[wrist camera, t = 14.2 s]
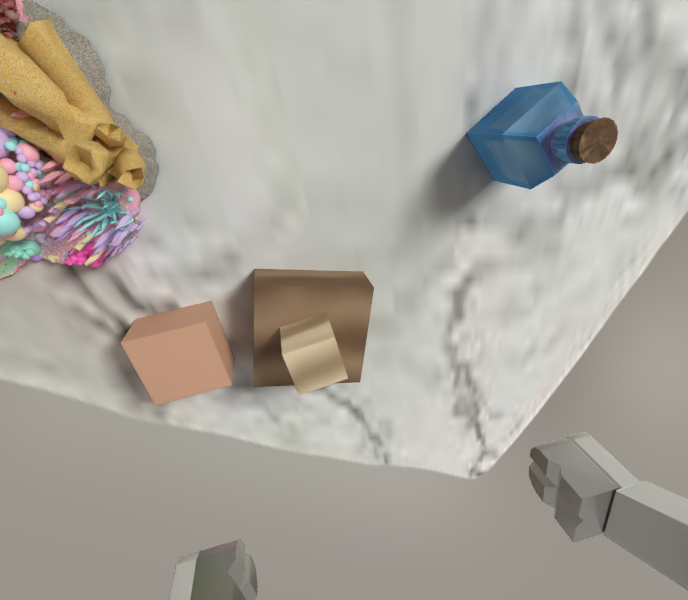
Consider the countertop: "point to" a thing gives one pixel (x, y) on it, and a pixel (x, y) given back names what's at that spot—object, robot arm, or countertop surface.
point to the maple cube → (312, 353)
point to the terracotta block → (180, 352)
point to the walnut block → (304, 302)
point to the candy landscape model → (63, 147)
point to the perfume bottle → (539, 135)
